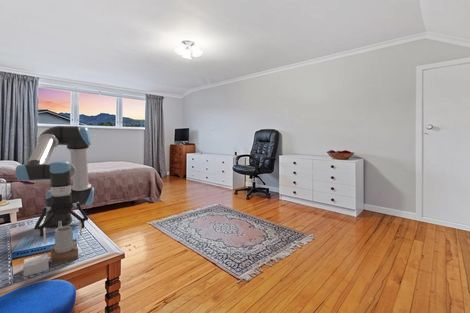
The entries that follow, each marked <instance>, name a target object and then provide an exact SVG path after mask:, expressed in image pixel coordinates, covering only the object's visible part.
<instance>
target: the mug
mask: <svg viewBox="0 0 470 313" xmlns="http://www.w3.org/2000/svg"><path fill="white" fill-rule="evenodd" d="M53 236H54V237H53V238H54V245H53V246H54V250H55V252H56V253H61V252H62V253H63V252H67V251H70V250H71V249H73V248H74V232H73V228H72V226H69V225H68V226H66V225H64V226H62V223H61V221H59V222H58V227H56V229H55V230H54V235H53Z"/></svg>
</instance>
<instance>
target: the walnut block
mask: <svg viewBox="0 0 470 313" xmlns="http://www.w3.org/2000/svg"><path fill="white" fill-rule="evenodd" d="M73 242H74V248H73V249H71V250H70V251H67V252H63V253H62V252H61V253H56V252H55V250H54V246H55V245H53V246H50V247H49V248H50V262H51V263H50V264H51V267H52V266H53V267H54V266H56V265H60V264H64V263H67V262H68V263H69V262H71V261H75V260H78V259H79V248H78V244H77V242H76V241H75V240H73Z"/></svg>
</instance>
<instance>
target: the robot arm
mask: <svg viewBox="0 0 470 313" xmlns="http://www.w3.org/2000/svg"><path fill="white" fill-rule="evenodd" d="M91 144H92V136H91V133H90V130H89V128H88V127H85V126H78V125H76V126H75V125H55V126H52V127H50V128H47V129H46V130H43V131H42V132H41V133H40V134H39V136H38V138H37V145H36V146H35V148H34V149H33V152H32V153H31V155H30V156H29V159H28V160H27V162H26V164H18V165H17V166H16V168H15V171H14V173H15V178H16V179H17V180H18V181H27V182H29V181H42V180H43V181H44V180H45V181H46V180H49V181H50V189H49V190H47V191H46V192H45V206H43V208H42V212H41V214H40V216H39V218H38V220H37V221H36V223H35V225H34V230H38V231H39V236H40V238H42V237H43V244H44V245H46V244H47V233H46V228H58V222H59V221H61V223H62V227H64V226H66V225H69V224H71V223H72V222H73V217H74V218H76V219H77V220H78V227H79V228H78V230H79V232H78V233H79V237H83V229H84V228H85V221H88V220H89V217H88V215H87V214H86V212H85V211H84V210H83V209H82V206H88V205H92V204H93V203H94V195H95V188H94V187H92V184H91V183H90V182H89V172H88V158H87V150H88V149H89V148H90V146H91ZM58 146H66V149H67V150H69V152H70V153H69V154H70V161H68V160H58V161H57V160H56V161H51V162H50V163H49V160H50V157H51V156H52V153H53V152H54V149H55V148H57V147H58ZM71 177H72V183H73V184H72V183H71ZM74 207H75V208H77V210H78V211H79V212H80V214H81V215H82V217H81V215H79V214H78V213H76V212H75V211H74V210H73V208H74ZM72 216H73V217H72ZM42 222H43V223H42Z"/></svg>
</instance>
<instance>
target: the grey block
mask: <svg viewBox="0 0 470 313" xmlns="http://www.w3.org/2000/svg"><path fill="white" fill-rule="evenodd" d="M22 269H23V277H28V276H31V275H35V274H38V273H42V272H46V271H49V270H50V269H49V254H48V253H45V254H41V255H37V256H32V257H28V258H25V259H24V260H23V267H22Z"/></svg>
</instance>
